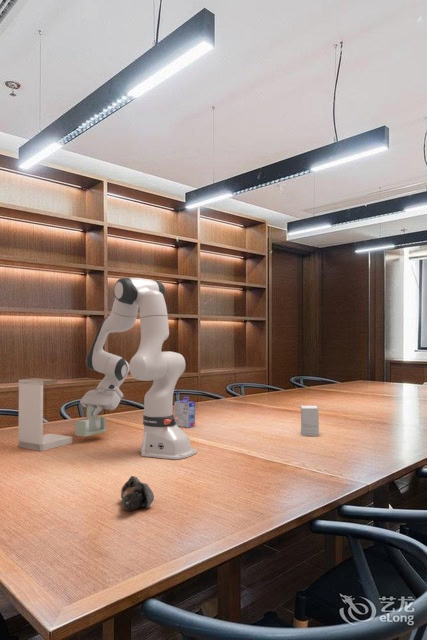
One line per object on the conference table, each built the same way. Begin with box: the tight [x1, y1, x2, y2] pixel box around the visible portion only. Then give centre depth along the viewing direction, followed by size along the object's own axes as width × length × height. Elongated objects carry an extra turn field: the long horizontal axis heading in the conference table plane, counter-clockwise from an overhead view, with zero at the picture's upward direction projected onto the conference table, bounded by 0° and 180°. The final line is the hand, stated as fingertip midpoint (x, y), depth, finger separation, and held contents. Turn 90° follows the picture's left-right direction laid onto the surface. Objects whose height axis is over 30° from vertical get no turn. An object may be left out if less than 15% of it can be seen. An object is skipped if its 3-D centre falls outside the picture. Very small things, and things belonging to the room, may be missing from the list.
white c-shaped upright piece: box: [18, 377, 73, 452], centre depth 194 cm, size 14×16×28 cm
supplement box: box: [300, 405, 320, 437], centre depth 210 cm, size 7×7×13 cm
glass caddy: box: [74, 407, 107, 438], centre depth 202 cm, size 6×12×11 cm, turn 147°
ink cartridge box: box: [173, 395, 196, 429], centre depth 231 cm, size 10×6×14 cm, turn 53°
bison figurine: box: [120, 475, 155, 512], centre depth 124 cm, size 12×7×10 cm
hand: (90, 415), depth 202 cm, fingers closed on glass caddy
